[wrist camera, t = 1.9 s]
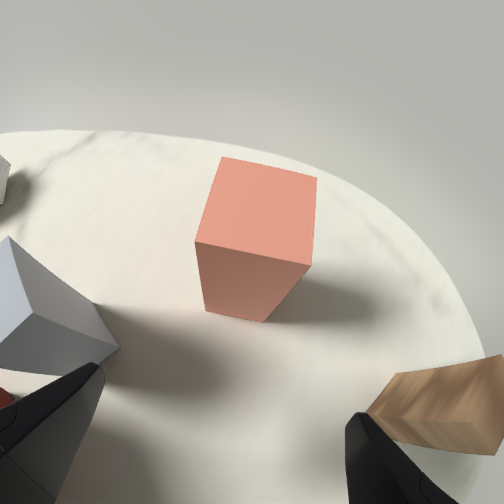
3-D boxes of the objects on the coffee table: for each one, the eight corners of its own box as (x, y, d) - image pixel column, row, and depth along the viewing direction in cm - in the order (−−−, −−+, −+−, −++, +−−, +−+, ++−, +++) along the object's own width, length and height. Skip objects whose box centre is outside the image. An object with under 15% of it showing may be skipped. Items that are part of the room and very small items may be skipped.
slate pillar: (81, 377, 19) (-20, 364, 7) (56, 331, 20) (-40, 286, 8) (120, 347, 21) (32, 312, 9) (92, 302, 22) (8, 235, 10)
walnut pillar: (392, 439, 19) (494, 455, 8) (364, 412, 21) (471, 422, 9) (420, 401, 21) (522, 393, 9) (395, 373, 22) (501, 354, 11)
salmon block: (263, 322, 23) (311, 265, 12) (205, 310, 23) (194, 241, 11) (271, 269, 26) (316, 177, 14) (218, 258, 25) (221, 156, 14)
